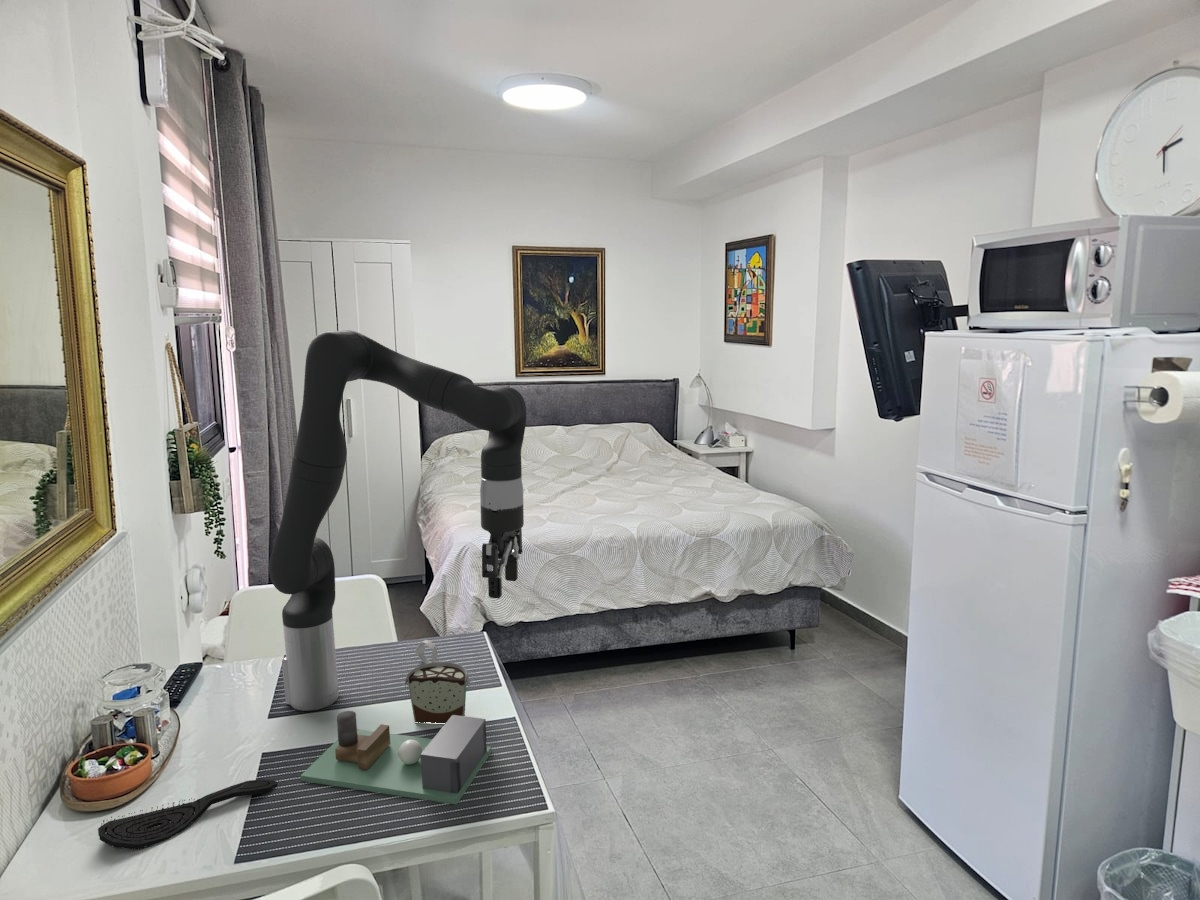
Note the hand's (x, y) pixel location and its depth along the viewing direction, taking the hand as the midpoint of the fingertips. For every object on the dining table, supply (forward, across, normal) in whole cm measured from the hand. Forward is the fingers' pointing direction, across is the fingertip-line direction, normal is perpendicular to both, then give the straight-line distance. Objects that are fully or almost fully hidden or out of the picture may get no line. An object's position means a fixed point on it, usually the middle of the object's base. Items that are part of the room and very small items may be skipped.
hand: (503, 588), depth 141 cm
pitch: (+28, +15, -14) cm, 35 cm away
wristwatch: (+28, -22, -26) cm, 44 cm away
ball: (+25, +15, -12) cm, 31 cm away
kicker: (+27, +15, -21) cm, 37 cm away
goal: (+28, +16, -3) cm, 32 cm away
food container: (+28, -2, -13) cm, 31 cm away
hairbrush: (+29, +34, -40) cm, 60 cm away
